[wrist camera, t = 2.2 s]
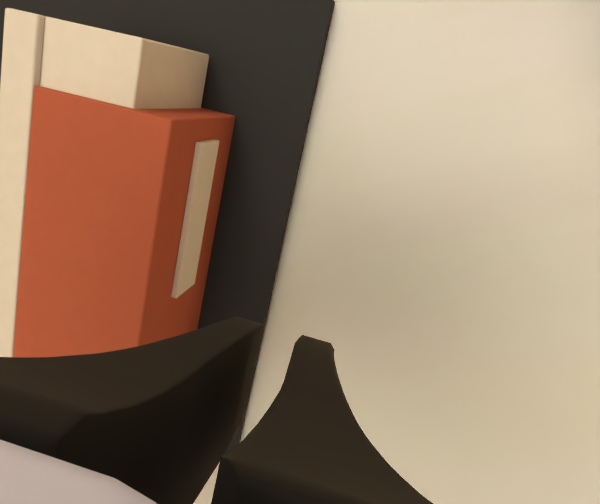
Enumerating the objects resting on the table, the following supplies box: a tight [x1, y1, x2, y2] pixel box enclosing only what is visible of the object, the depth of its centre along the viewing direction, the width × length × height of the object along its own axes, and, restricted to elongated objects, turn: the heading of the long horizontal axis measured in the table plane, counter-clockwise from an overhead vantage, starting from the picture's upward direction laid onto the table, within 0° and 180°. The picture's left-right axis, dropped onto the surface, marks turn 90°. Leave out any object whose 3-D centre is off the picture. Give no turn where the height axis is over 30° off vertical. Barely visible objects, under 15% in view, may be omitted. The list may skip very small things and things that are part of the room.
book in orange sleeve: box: [0, 8, 235, 357], centre depth 19 cm, size 12×5×6 cm, turn 168°
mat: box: [0, 0, 334, 455], centre depth 22 cm, size 18×16×1 cm
